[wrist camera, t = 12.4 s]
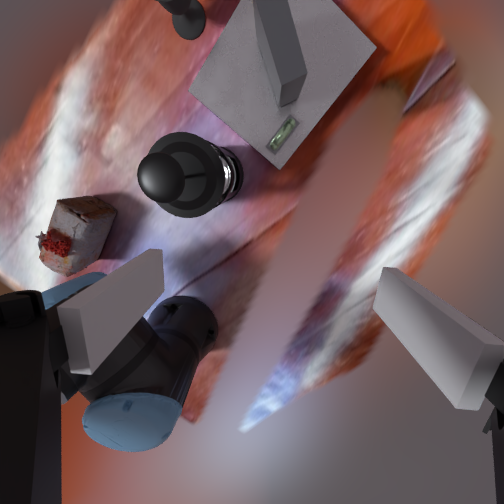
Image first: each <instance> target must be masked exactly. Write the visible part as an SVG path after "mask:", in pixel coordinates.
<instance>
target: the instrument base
mask: <svg viewBox="0 0 504 504" xmlns="http://www.w3.org/2000/svg"><path fill="white" fill-rule="evenodd" d="M288 3H289V7H290V10H291V14H292V18H293V21H294V25H295V28H296V32H297V36H298V39H299V43H300V47H301V50H302V54H303V57H304V61H305V65H306V68H307V72H308V74H307V76H306V79H305V82H304V84H303V87H302V90H301V92H300V95H299V98H298V99H295V100H293V101H291V102H289V103H287V104H285V105H283V106H280V107H278V104H277V100H276V97H275V94H274V91H273V88H272V85H271V82H270V78H269V75H268V72H267V69H266V66H265V63H264V60H263V56H262V53H261V50H260V47H259V44H258V41H257V38H256V28H255V18H254V8H253V0H241V1H240V2H239V4H238V6H237V8H236V9H235V11H234V13H233V14H232V16H231V18H230V20H229V21H228V23H227V25H226V27H225V28H224V30H223V32H222V33H221V35H220V37H219V39H218V40H217V42H216V44H215V45H214V47H213V49H212V51H211V52H210V54H209V56H208V57H207V59H206V61H205V63H204V64H203V66H202V68H201V70H200V71H199V73H198V75H197V76H196V78H195V80H194V82H193V83H192V85H191V87H190V88H189V90H188V91H189V92H190V93H191V94H192V95H193V96H194V97H195V98H196V99H197V100H199V101H200V102H201V103H202V104H203V105H204V106H206V107H207V108H208V109H209V110H210V111H211V112H213V113H214V114H215V115H216V116H217V117H218V118H219V119H221V120H222V121H223V122H224V123H225V124H226V125H228V126H229V127H230V128H231V129H232V130H233V131H235V132H236V133H237V134H238V135H239V136H240V137H241V138H243V139H244V140H245V141H246V142H247V143H248V144H250V145H251V146H252V147H253V148H254V149H255V150H256V151H258V152H259V153H260V154H261V155H262V156H263V157H265V158H266V159H267V160H268V161H269V162H270V163H272V164H273V165H274V166H275V167H276V168H277V169H278V170H280V169H281V168H282V167H283V166H284V164H285V163H286V162H287V161H288V159H289V158H290V157H291V156H292V154H293V153H294V152H295V150H296V149H297V148H298V147H299V145H300V144H301V143H302V142H303V140H304V139H305V138H306V137H307V135H308V134H309V133H310V132H311V130H312V129H313V128H314V126H315V125H316V124H317V123H318V121H319V120H320V119H321V118H322V116H323V115H324V114H325V113H326V111H327V110H328V109H329V108H330V106H331V105H332V104H333V102H334V101H335V100H336V99H337V97H338V96H339V95H340V94H341V92H342V91H343V90H344V89H345V87H346V86H347V85H348V84H349V82H350V81H351V80H352V78H353V77H354V76H355V75H356V73H357V72H358V71H359V70H360V68H361V67H362V66H363V65H364V63H365V62H366V61H367V60H368V58H369V57H370V56H371V54H372V53H373V52H374V51H375V49H376V48H377V47H376V46H375V45H374V44H373V43H372V42H371V41H370V40H369V39H368V38H367V37H366V36H365V35H364V33H363V32H362V31H361V30H360V29H359V28H358V27H357V26H356V25H355V24H354V23H353V22H352V21H351V20H350V19H349V18H348V17H347V16H346V15H345V14H344V13H343V12H342V10H341V9H340V8H339V7H338V6H337V5H336V4H335V3H334V2H333V1H332V0H288Z"/></svg>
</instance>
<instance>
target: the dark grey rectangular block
mask: <svg viewBox="0 0 504 504" xmlns="http://www.w3.org/2000/svg"><path fill="white" fill-rule="evenodd" d="M253 8H254V18H255V28H256V38H257V41H258V44H259V47H260V50H261V53H262V56H263V60H264V63H265V66H266V69H267V72H268V75H269V78H270V82H271V85H272V88H273V91H274V94H275V97H276V100H277V104H278V107H280V106H283V105H285V104H287V103H289V102H291V101H293V100H295V99H298V98H299V95H300V92H301V90H302V87H303V84H304V82H305V79H306V76H307V74H308V72H307V68H306V65H305V61H304V57H303V54H302V50H301V47H300V43H299V39H298V36H297V32H296V28H295V25H294V21H293V18H292V14H291V10H290V7H289V3H288V0H253Z"/></svg>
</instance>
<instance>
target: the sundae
mask: <svg viewBox="0 0 504 504" xmlns="http://www.w3.org/2000/svg"><path fill="white" fill-rule="evenodd" d="M156 1H158V2H159V3H160V4H161V5H162V6H163V7H164V8H165V9H166V10H167V11H169V12H170V13H172V20H173V25H174V28H175V30H176V32H177V33H178V34H179V35H180V36H181V37H182V38H184V39H187V40H192V39H195V38H197V37H198V36H199V35H200V34H201V33H202V31H203V29H204V25H205V14H204V10H203V8H202V6H201V5H200V3H199V2H198V1H197V0H156Z"/></svg>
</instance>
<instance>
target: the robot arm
mask: <svg viewBox="0 0 504 504" xmlns="http://www.w3.org/2000/svg"><path fill="white" fill-rule="evenodd" d="M163 292H164V273H163V254H162V250H161V249H148V250H147V251H145V252H143V253H142V254H140V255H139V256H137V257H135V258H134V259H132V260H131V261H129V262H128V263H126V264H124V265H123V266H121V267H120V268H118V269H116V270H115V271H113V272H112V273H110V274H108V275H107V274H105V273H102V272H92V273H88V274H85V275H82V276H80V277H77V278H75V279H72V280H69V281H67V282H65V283H62V284H60V285H58V286H55V287H53V288H51V289H48V290H46V291H44V292H42V293H41V292H39V291H36V290H24V291H16V292H12V293H7V294H4V295H1V296H0V504H61V503H62V502H61V501H62V498H61V495H62V494H61V404H64V403H66V402H67V401H68V400H69V399H70V398H71V397H72V396H73V395H74V394H76V393H77V391H79V392H80V393H81V394H82V395H83V396H84V397H85V398H86V399H87V400H88V401H89V402H90V403H91V404H90V405H88V406H87V408H86V409H85V413H84V416H83V418H82V423H83V424H84V425H83V428H84V430H85V432H86V433H87V435H89V437H90V438H92V439H93V440H94V441H96V442H98V443H100V444H101V445H103V446H106V447H109V448H111V449H115V450H120V451H127V452H139V451H146V450H149V449H152V448H155V447H157V446H159V445H160V444H162V443H163V442H164V441H165V440H166V439H167V438H168V437H169V436H170V434H171V432H172V430H173V428H174V426H175V424H176V421H177V419H178V417H179V416H180V415H181V412H182V408H183V405H184V402H185V400H186V397H187V394H188V391H189V388H190V386H191V383H192V380H193V377H194V374H195V372H196V369H197V366H198V364H199V363H200V361H201V360H202V359H203V358H204V357H205V356H206V355H207V354H208V353H209V352H210V350H211V349H212V348H213V346H214V344H215V341H216V338H217V335H218V323H217V320H216V318H215V316H214V314H213V313H212V311H211V310H210V309H209V308H208V307H207V306H206V305H205V304H203V303H202V302H200V301H198V300H196V299H193V298H190V297H185V296H176V297H171V298H168V299H165V300H164V301H162V302H161V303H159V304H158V305H157V307H156V308H155V309H154V310H153V311H152V313H151V315H150V316H149V319H148V322H147V321H146V319H145V318H144V317H143V315H144V314H145V313H146V312H147V310H148V309H149V308H150V307H151V306H152V305H153V303H154V302H155V301H156V300H157V299H158V298H159V297H160V295H161V294H162V293H163ZM373 309H374V310H375V312H376V313H377V314H378V315H379V316H380V318H381V319H382V320H383V321H384V322H385V324H386V325H387V326H388V327H389V328H390V330H391V331H392V332H393V333H394V334H395V336H396V337H397V338H398V339H399V340H400V342H402V344H403V345H404V346H405V348H406V349H407V350H408V351H409V352H410V354H411V355H412V356H413V357H414V358H415V359H416V361H417V362H418V363H419V364H420V366H421V367H422V368H423V369H424V370H425V372H426V373H427V374H428V375H429V376H430V377H431V379H432V380H433V381H434V382H435V384H436V385H437V386H438V387H439V388H440V390H441V391H442V392H443V393H444V394H445V396H446V397H447V398H448V399H449V400H450V402H451V403H452V404H453V405H454V406H455V408H457V409H468V410H479V408H480V406H481V404H482V402H483V400H484V398H485V397H486V398H487V399H488V400H489V401H490V402H491V403H492V404H493V405H494V406H495V407H494V409H493V411H492V413H491V415H490V418H489V419H488V421H487V423H486V425H485V427H484V429H483V432H484V433H486V434H487V433H488V431H489V430H492V442H493V456H494V471H495V486H496V499H497V500H496V501H497V504H504V341H503V340H501V339H500V338H498V337H497V336H496V335H494V334H492V333H491V332H490V331H488V330H487V329H485V328H484V327H482V326H480V325H479V324H478V323H476V322H475V321H474V320H472V319H471V318H469V317H467V316H466V315H464V314H463V313H461V312H460V311H458V310H457V309H456V308H454V307H453V306H451V305H450V304H448V303H447V302H445V301H444V300H442V299H441V298H439V297H438V296H436V295H435V294H434V293H432V292H431V291H429V290H428V289H426V288H425V287H423V286H422V285H420V284H419V283H418V282H416V281H415V280H413V279H412V278H410V277H409V276H407V275H406V274H404V273H403V272H401V271H400V270H399V269H397V268H390V267H383V270H382V273H381V277H380V281H379V285H378V289H377V293H376V297H375V301H374V304H373Z"/></svg>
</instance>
